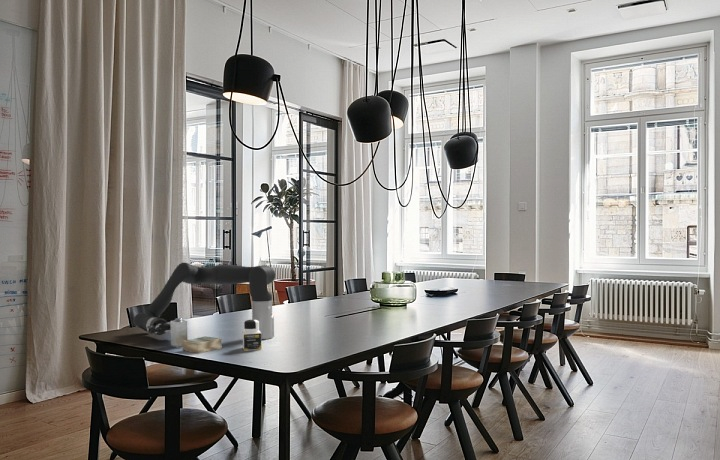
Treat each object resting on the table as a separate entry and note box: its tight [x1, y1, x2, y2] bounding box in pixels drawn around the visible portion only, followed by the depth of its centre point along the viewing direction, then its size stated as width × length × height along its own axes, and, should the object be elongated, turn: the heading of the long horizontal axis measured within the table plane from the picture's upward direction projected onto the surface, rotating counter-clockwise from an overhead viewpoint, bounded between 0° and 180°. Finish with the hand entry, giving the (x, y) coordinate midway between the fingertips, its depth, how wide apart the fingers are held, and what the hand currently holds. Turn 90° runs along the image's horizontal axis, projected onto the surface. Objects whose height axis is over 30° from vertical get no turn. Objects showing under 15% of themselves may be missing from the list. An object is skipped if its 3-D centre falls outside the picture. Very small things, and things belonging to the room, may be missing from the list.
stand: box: [182, 336, 223, 354], centre depth 243 cm, size 12×10×4 cm
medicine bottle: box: [242, 319, 262, 352], centre depth 243 cm, size 7×7×12 cm
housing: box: [169, 317, 188, 349], centre depth 250 cm, size 7×5×12 cm
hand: (170, 329), depth 258 cm, fingers open, 8 cm apart
